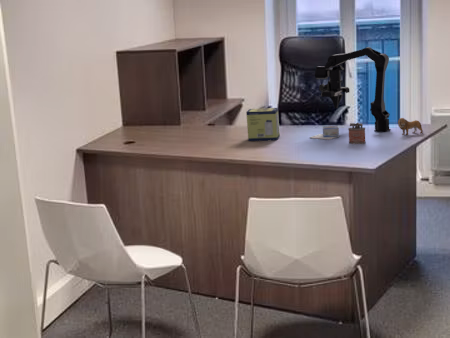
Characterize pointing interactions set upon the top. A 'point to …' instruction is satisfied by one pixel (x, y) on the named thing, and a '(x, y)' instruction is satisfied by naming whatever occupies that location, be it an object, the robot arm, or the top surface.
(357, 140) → the lighter
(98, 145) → the top surface
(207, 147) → the top surface
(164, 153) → the top surface
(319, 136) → the felt pad
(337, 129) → the medicine box
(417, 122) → the lion figurine
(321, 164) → the top surface
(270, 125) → the protein box
